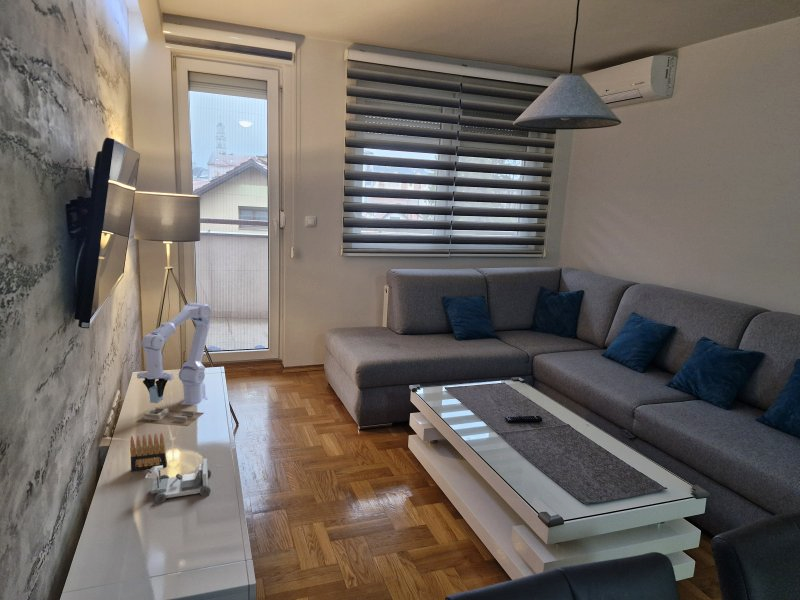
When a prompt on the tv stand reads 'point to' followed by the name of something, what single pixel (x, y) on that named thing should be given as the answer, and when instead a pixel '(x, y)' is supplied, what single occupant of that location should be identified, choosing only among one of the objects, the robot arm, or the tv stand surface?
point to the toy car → (179, 483)
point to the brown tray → (170, 417)
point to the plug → (154, 395)
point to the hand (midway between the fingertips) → (156, 395)
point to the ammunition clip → (147, 453)
